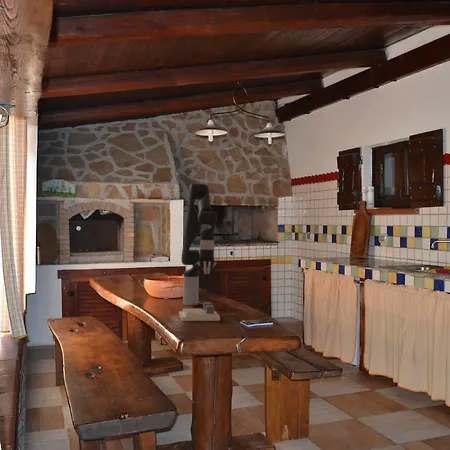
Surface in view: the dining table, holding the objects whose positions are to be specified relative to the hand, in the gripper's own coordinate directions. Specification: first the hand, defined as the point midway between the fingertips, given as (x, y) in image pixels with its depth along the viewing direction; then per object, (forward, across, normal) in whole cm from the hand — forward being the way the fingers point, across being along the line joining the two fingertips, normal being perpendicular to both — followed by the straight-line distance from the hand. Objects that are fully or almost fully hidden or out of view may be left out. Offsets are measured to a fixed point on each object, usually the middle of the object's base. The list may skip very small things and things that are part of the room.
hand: (206, 280), depth 293 cm
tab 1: (+18, -1, -5) cm, 18 cm away
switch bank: (+20, +3, -1) cm, 20 cm away
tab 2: (+18, -2, +4) cm, 18 cm away
